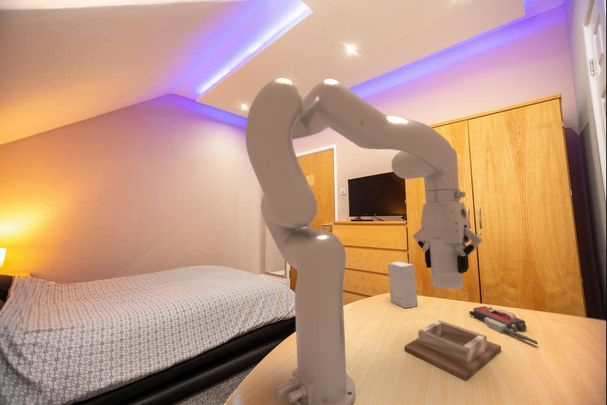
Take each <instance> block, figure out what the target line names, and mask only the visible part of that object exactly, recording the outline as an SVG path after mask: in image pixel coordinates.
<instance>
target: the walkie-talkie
mask: <svg viewBox="0 0 607 405" xmlns="http://www.w3.org/2000/svg"><path fill="white" fill-rule="evenodd" d="M472 309H473V311H472V310H470V311H468V313H469V315H470V316H472V317H473V318H474V319H476V320H479V321H481V322H483V323H485V324H486V325H487V327H488V328H490V329H492V330H493V331H496V332H498V333H500V334H509V335H511V336H513V337H517V338H518V339H520V340H523V341H528V342H530V343H533V344H535V345H538V344H539V343H538V341H537V340H534V339H532V338H530V337H528V336H525V335H523V334H521V333H518V332H520V331H522V332H525V331H526V330H527V324H526V321H525V320H524V319H521V318H518V317H517V316H516V315H515V314H514V313H512V312H510V311H507V310H506V309H505V310H504V309H502V308H498V309H495V308H493V307H492V306H485V305H484V306H483V305H482V306H477V307H473V308H472Z"/></svg>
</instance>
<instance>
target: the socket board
mask: <svg viewBox="0 0 607 405" xmlns="http://www.w3.org/2000/svg"><path fill="white" fill-rule="evenodd" d="M417 335H418V338H416V339H414V340H413V341H411V342H409V343H407V344H405V345H404V346H403V348H404V352H407V353H408V354H410V355H413V356H414V357H417V358H418V359H420V360H422V361H425V362H427V363H429V364H431V365H432V366H434V367H437V368H439V369H441V370H443V371H445V372H448V373H449V374H451V375H453V376H455V377H456V378H457V377H458V378H460V379H461V380H463V381H466V382H467V381H468V380H469V379H471V377H473V376H474V375H475V374H476V373H477V372H478V371H479V370H481V369H482V368H483V367H484V366H485V365H487V364H488V363H489V362H490V361H491V360H493V358H495V357H496V356H497V355H498V354H499V353H500V352H502V346H501V345H500V344H497V343H494V342H491V341H489V340H487V335H485V334H481V333H479V332H476V331H473V330H470V329H466V328H464V327H460V326H457V325H455V324H452V323H449V322H446V321H442V320H440V319H439V320H437V321H434V322H433V323H431V324H429V325H427V326H425V327H423V328H421V329H419V330H418V331H417Z"/></svg>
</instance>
